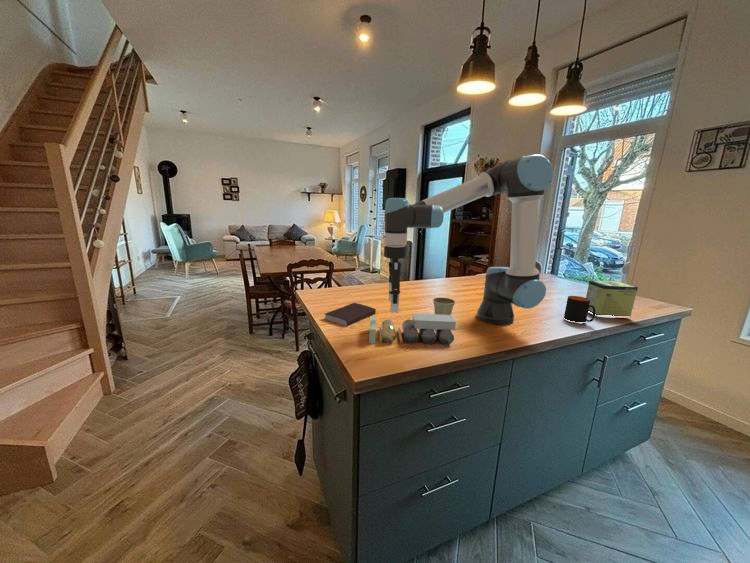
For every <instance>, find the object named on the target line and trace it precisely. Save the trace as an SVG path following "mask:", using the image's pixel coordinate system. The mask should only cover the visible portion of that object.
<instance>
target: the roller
mask: <svg viewBox="0 0 750 563" xmlns="http://www.w3.org/2000/svg"><path fill="white" fill-rule="evenodd" d="M381 328H382V342H385V343H387V344H391V343H393V342H395V341H396V338H397V333H396V327H395V322H394V321H393V320H391V319H385V320H383V321H382V322H381Z"/></svg>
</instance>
